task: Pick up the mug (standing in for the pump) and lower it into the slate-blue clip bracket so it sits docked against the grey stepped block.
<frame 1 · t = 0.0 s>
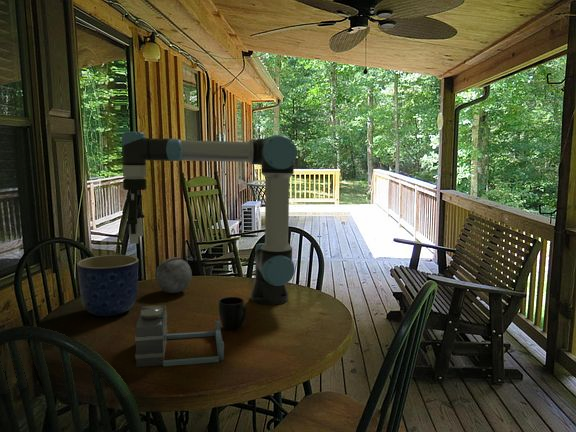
hand: (136, 239, 154), 28 cm above the table, fingers open, 13 cm apart
clip bracket: (191, 349, 132), on the table
decorative orb: (174, 293, 187), on the table
mug: (234, 330, 148), on the table
grey stepped block: (152, 351, 130), on the table
planter: (110, 312, 163), on the table
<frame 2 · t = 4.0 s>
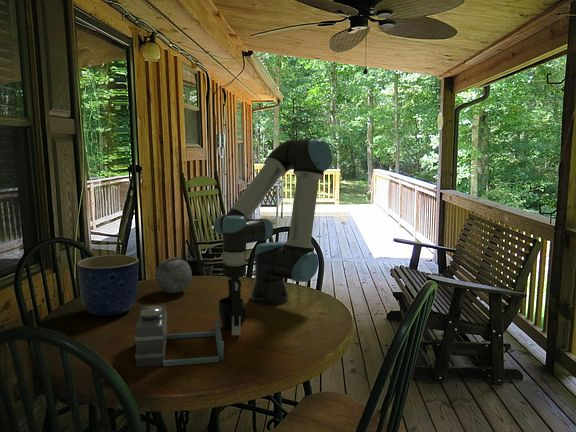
hand: (234, 327, 148), 1 cm above the table, fingers open, 11 cm apart
mug: (234, 330, 148), on the table, touching gripper
everything else where it was.
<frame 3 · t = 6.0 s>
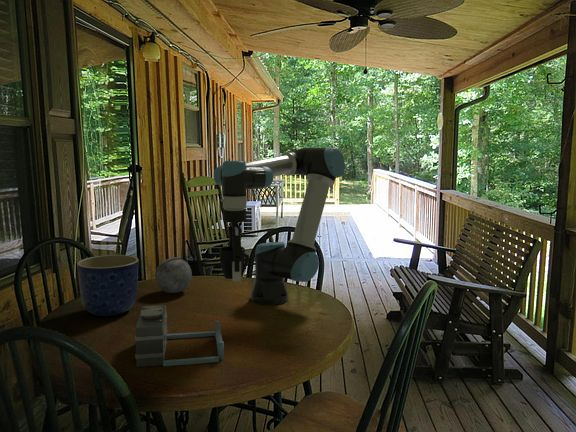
hand: (235, 276, 146), 18 cm above the table, fingers closed on mug, 10 cm apart
mug: (236, 278, 145), point 18 cm above the table, touching gripper
everything else where it was.
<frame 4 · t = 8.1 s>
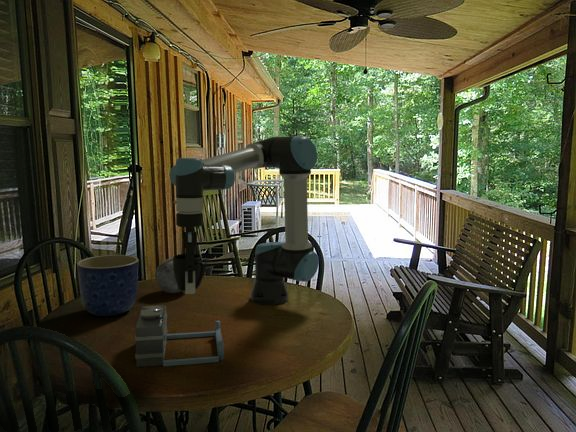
hand: (190, 288, 130), 19 cm above the table, fingers closed on mug, 10 cm apart
mug: (191, 290, 129), point 18 cm above the table, touching gripper
everything else where it was.
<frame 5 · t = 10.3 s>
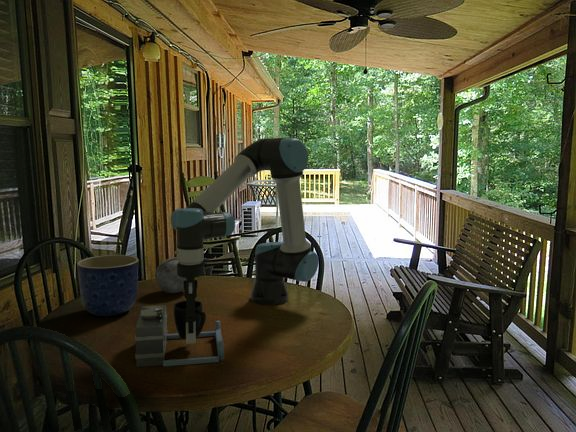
hand: (190, 335, 132), 4 cm above the table, fingers closed on mug, 10 cm apart
mug: (192, 337, 131), point 4 cm above the table, touching gripper
everything else where it was.
when the fingers open (2 cm above the table, at t = 11.9 s): mug drops 1 cm, on the table.
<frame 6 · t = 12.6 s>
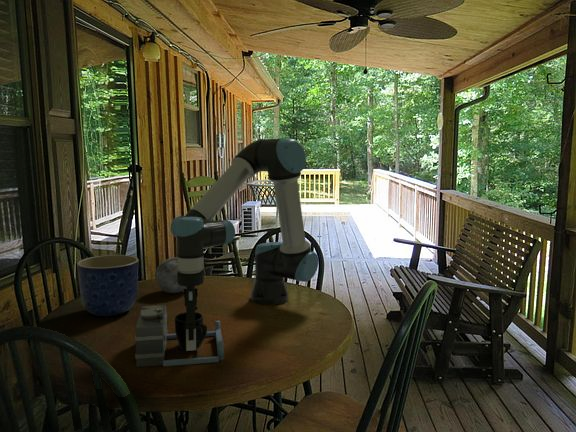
hand: (191, 340, 132), 3 cm above the table, fingers open, 13 cm apart
mug: (192, 349, 133), on the table
everything else where it was.
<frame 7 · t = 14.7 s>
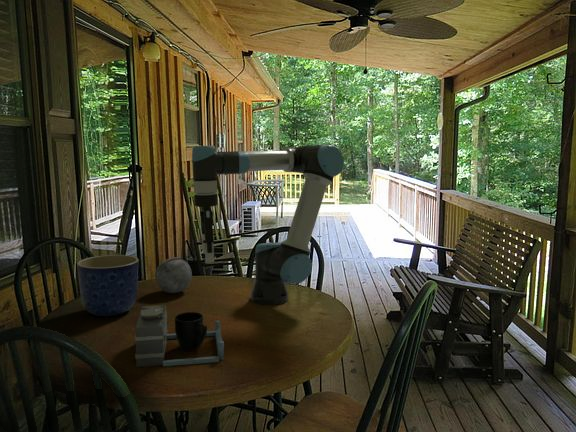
hand: (208, 257, 148), 24 cm above the table, fingers open, 13 cm apart
nothing on the table moved.
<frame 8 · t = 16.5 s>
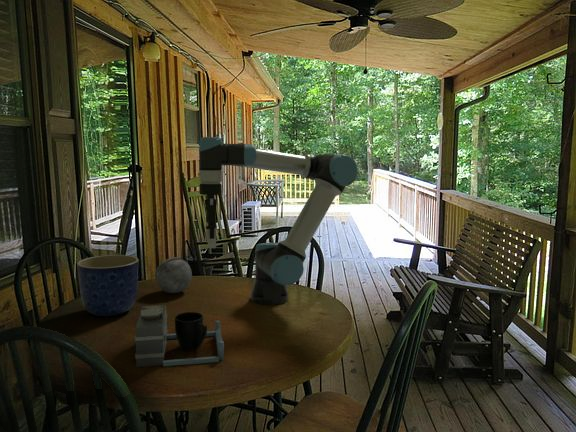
hand: (211, 244, 155), 27 cm above the table, fingers open, 13 cm apart
nothing on the table moved.
at the end: mug inside the target area (0.5 cm from its centre), on the table; mug tilted 0°; the gripper is holding nothing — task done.
